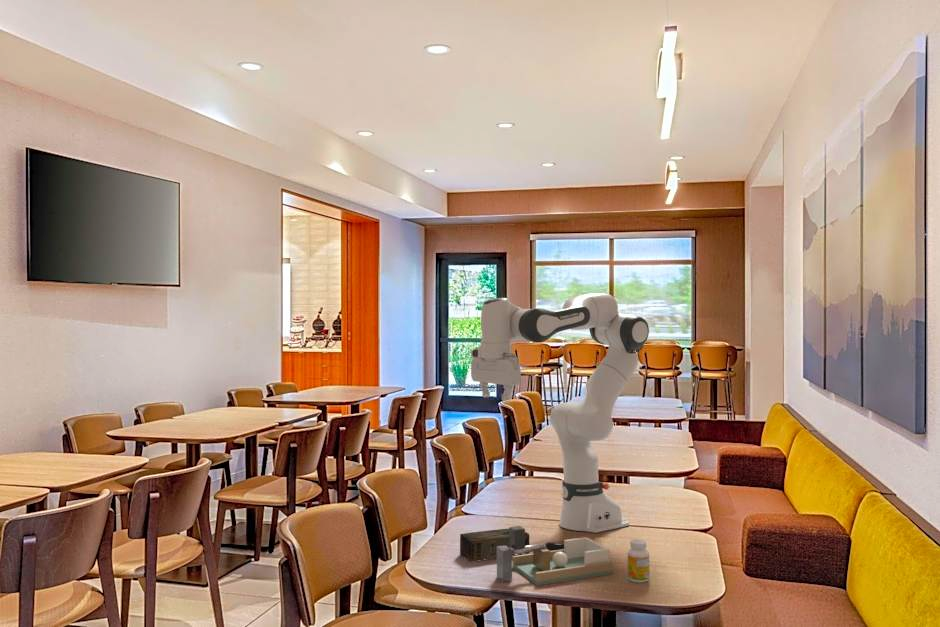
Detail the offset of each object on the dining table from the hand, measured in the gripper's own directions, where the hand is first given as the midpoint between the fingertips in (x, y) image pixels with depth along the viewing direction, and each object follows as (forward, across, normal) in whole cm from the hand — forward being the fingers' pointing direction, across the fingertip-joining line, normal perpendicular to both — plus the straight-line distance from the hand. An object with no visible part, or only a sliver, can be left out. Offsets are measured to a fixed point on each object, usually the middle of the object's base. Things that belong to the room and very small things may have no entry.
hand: (495, 398), depth 230 cm
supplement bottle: (+43, -46, -11) cm, 64 cm away
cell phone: (+44, -16, -8) cm, 47 cm away
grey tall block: (+43, -25, +16) cm, 53 cm away
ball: (+40, -29, +1) cm, 50 cm away
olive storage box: (+44, -8, +6) cm, 45 cm away
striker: (+42, -27, +10) cm, 51 cm away
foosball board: (+43, -29, 0) cm, 52 cm away
